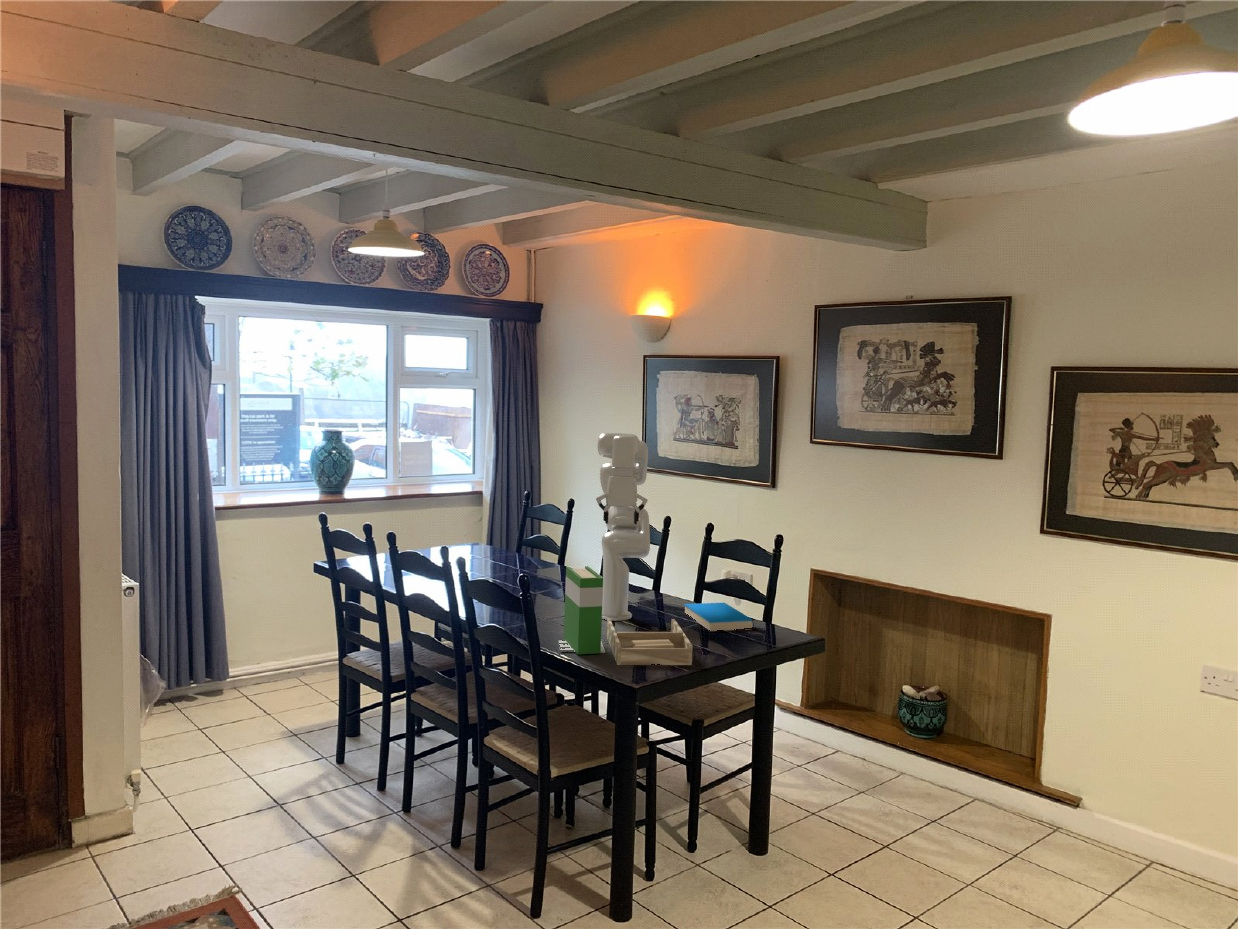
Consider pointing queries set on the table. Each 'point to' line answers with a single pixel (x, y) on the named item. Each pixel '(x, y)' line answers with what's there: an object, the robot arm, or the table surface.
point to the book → (718, 616)
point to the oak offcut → (651, 644)
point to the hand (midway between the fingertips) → (620, 523)
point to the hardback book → (583, 610)
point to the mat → (572, 648)
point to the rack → (649, 656)
